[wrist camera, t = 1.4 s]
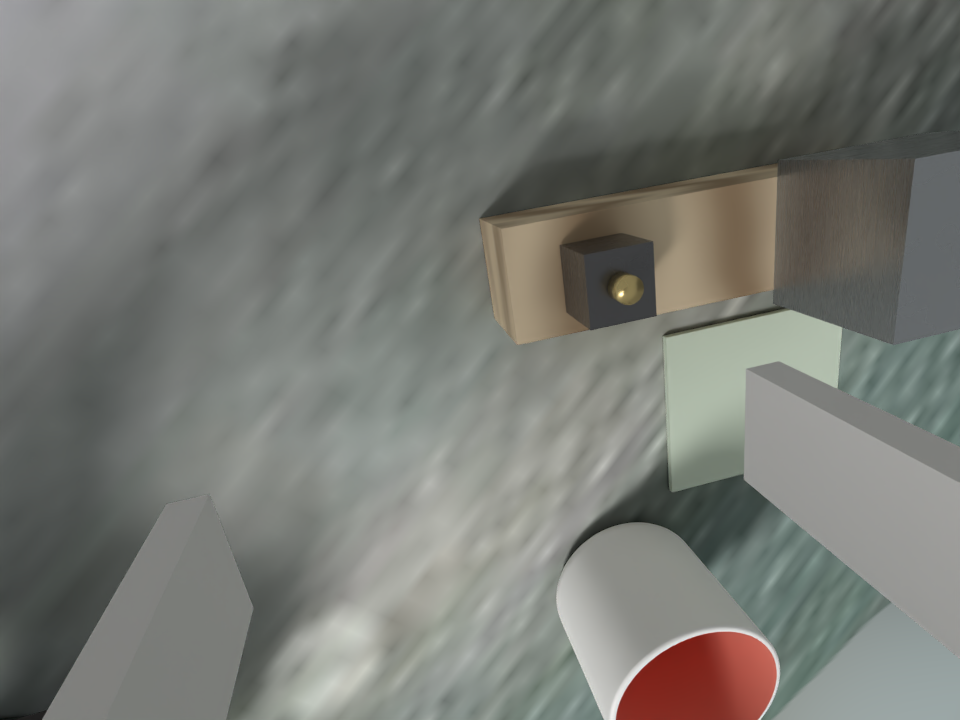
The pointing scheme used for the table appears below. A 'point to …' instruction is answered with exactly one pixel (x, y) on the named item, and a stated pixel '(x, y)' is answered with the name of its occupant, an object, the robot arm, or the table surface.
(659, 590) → the cup
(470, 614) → the table surface
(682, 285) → the long wooden block
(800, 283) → the gray cube on plate
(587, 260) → the latch
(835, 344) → the mat
